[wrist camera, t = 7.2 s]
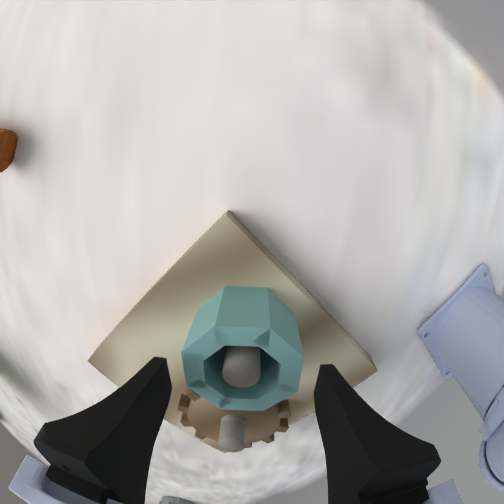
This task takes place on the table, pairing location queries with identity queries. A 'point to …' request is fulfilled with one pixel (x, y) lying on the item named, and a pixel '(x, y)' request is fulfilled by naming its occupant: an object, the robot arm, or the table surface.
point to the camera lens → (173, 500)
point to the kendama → (7, 148)
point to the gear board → (196, 289)
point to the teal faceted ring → (243, 334)
